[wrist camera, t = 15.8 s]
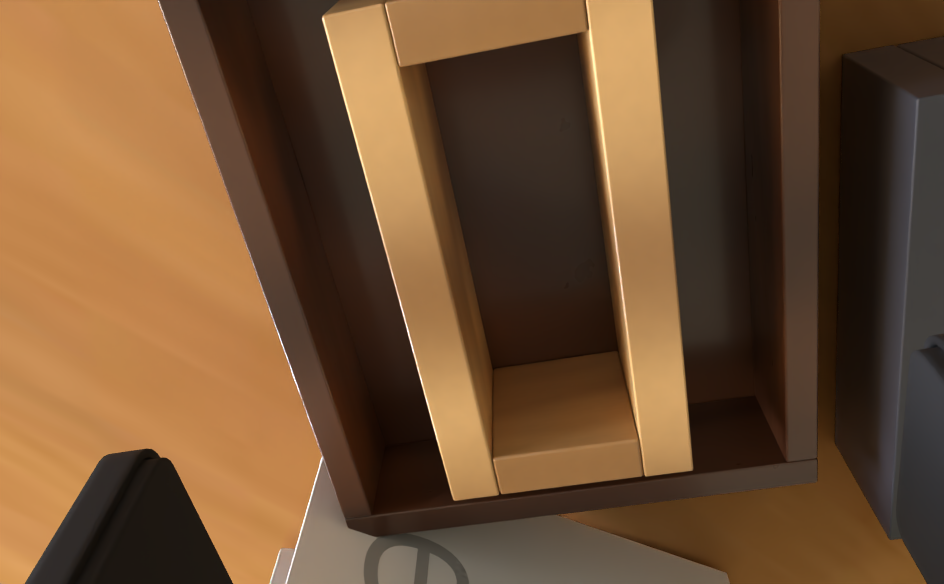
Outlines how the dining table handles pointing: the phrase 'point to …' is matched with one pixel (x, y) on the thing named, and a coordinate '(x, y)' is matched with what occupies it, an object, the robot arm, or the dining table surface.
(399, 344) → the holder
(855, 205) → the frame low
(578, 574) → the brochure
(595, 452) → the frame top
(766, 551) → the dining table surface
